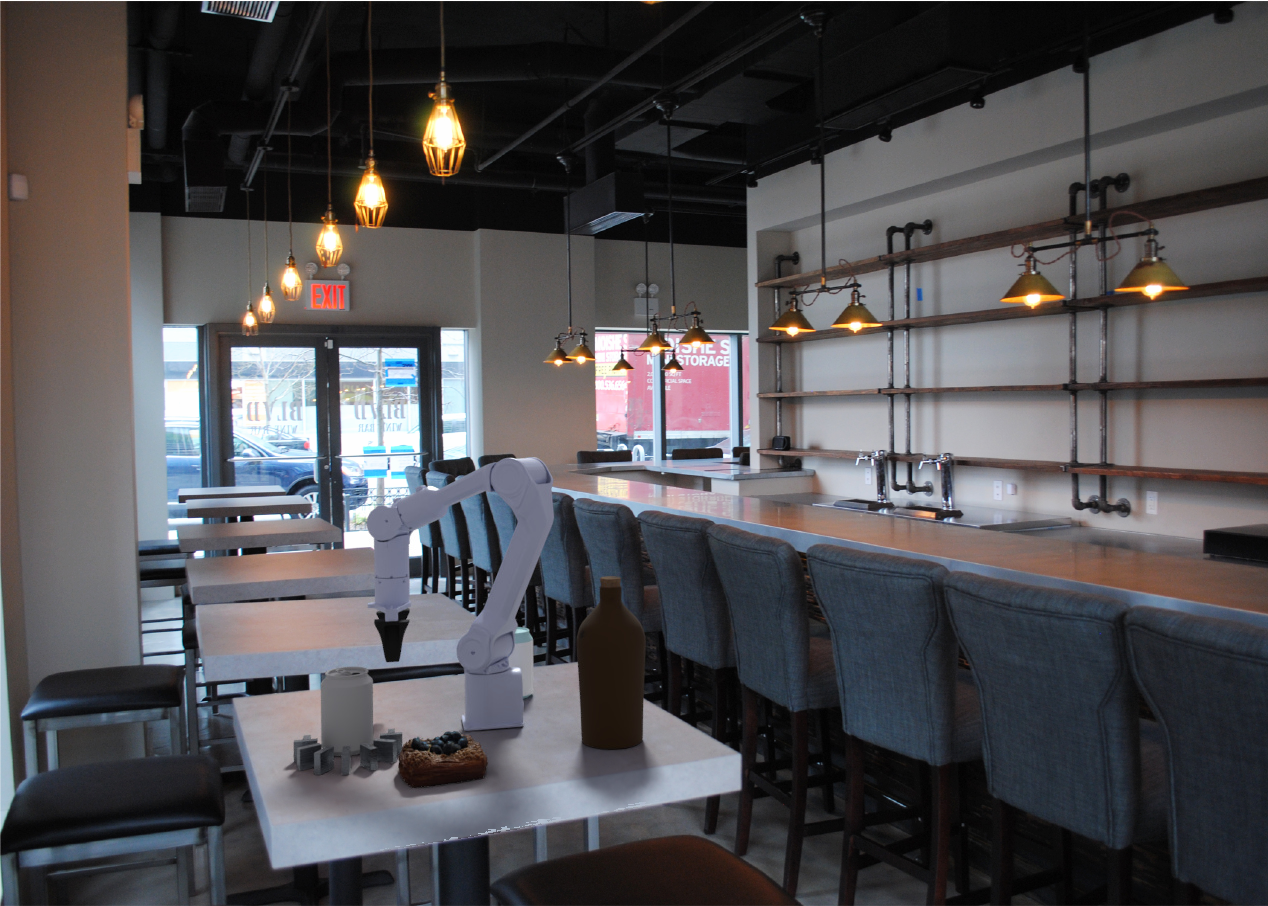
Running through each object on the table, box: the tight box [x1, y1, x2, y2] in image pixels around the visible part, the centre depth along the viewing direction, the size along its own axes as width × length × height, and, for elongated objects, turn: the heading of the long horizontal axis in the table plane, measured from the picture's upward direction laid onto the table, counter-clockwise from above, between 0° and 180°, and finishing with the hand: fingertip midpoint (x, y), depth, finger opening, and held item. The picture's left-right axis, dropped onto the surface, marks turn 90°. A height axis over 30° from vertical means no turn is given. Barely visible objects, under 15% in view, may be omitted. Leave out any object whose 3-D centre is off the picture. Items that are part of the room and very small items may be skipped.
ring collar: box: [293, 728, 403, 776], centre depth 138 cm, size 15×10×3 cm
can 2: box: [509, 626, 535, 700], centre depth 173 cm, size 7×7×12 cm
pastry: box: [397, 730, 489, 789], centre depth 133 cm, size 11×12×6 cm
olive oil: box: [576, 575, 647, 750], centre depth 147 cm, size 11×11×25 cm
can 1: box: [320, 666, 374, 757], centre depth 144 cm, size 8×8×12 cm
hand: (393, 656), depth 162 cm, fingers open, 7 cm apart
